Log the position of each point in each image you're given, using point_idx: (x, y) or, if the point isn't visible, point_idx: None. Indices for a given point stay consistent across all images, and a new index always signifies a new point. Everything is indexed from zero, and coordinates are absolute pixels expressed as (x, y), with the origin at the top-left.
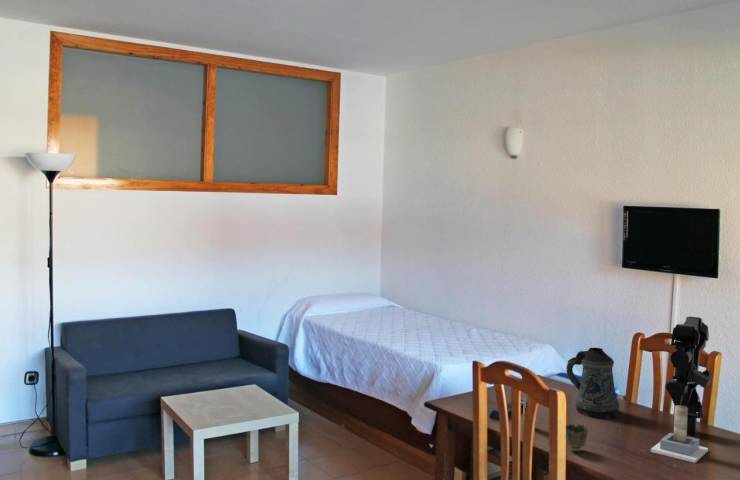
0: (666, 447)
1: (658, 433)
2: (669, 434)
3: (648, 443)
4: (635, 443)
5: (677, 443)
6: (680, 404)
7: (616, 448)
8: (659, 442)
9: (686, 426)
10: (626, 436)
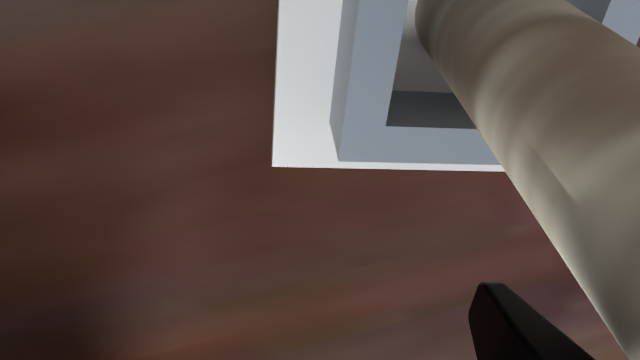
0: None
1: (138, 226)
2: (392, 151)
3: (400, 213)
4: (444, 262)
5: (629, 30)
6: (585, 355)
7: (580, 299)
8: (405, 167)
9: (613, 35)
10: (347, 325)
